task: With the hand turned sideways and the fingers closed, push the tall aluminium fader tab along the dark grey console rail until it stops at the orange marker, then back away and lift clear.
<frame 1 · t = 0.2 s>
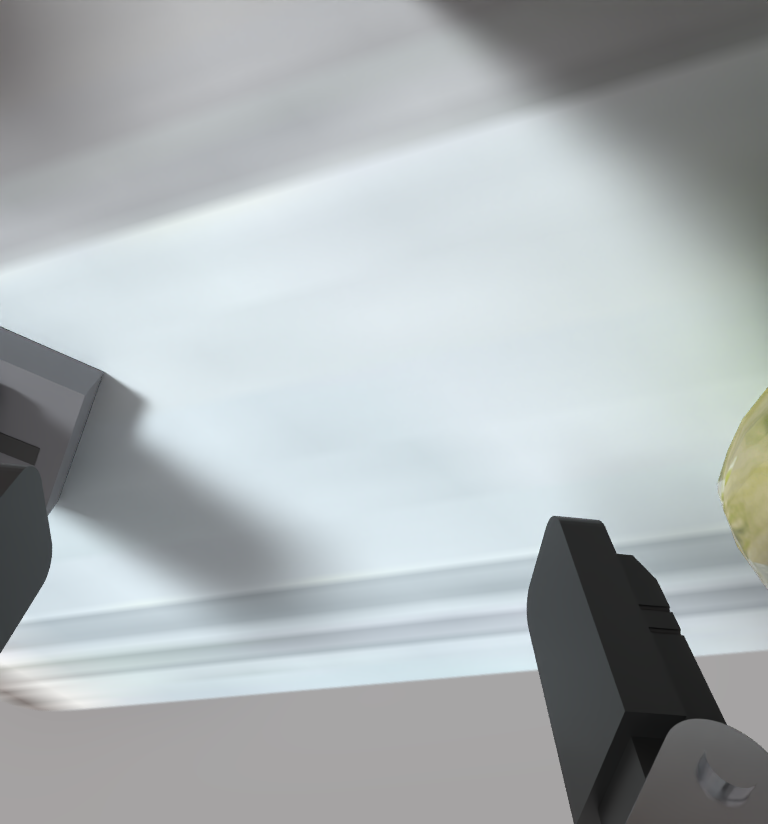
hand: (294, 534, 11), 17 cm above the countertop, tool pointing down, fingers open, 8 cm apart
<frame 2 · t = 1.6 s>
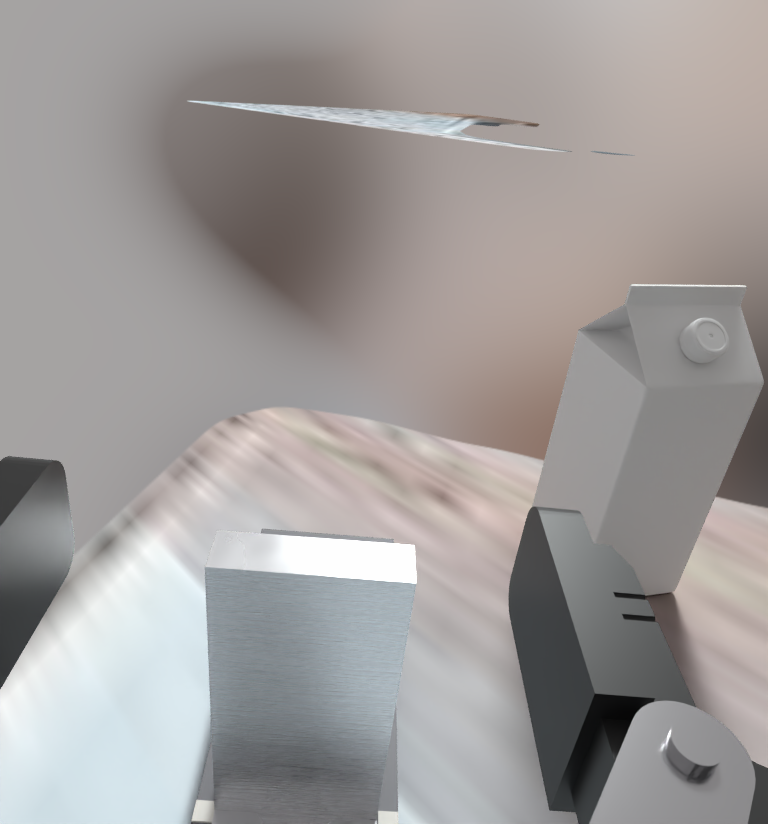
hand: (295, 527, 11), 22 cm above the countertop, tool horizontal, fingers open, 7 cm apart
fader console: (309, 715, 33), on the countertop
milk carton: (595, 563, 45), on the countertop
fader tab: (304, 701, 23), point 9 cm above the countertop, slide at 0.0 cm
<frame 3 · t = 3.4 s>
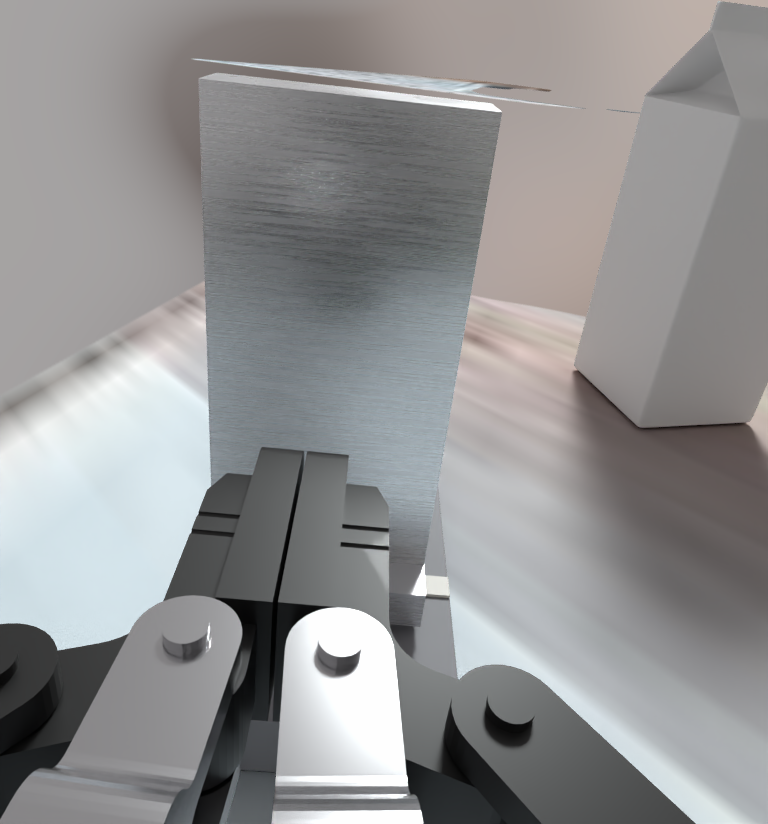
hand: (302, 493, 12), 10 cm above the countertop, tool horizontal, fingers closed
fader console: (329, 508, 27), on the countertop
milk carton: (655, 398, 39), on the countertop
fader tab: (333, 374, 17), point 9 cm above the countertop, slide at 0.0 cm
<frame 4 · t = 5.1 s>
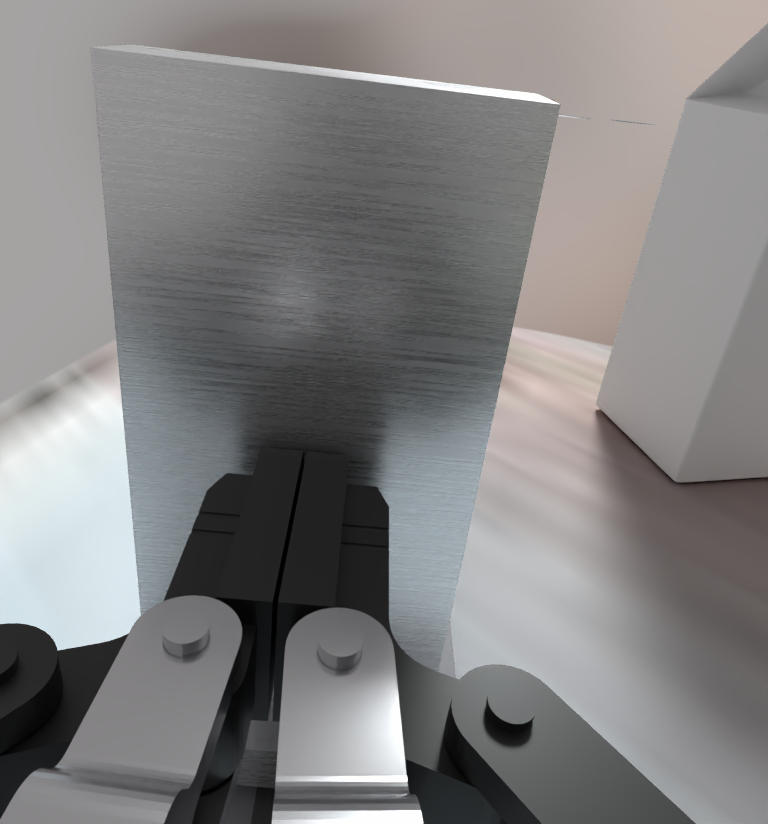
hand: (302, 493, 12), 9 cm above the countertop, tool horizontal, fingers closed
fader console: (312, 594, 22), on the countertop
milk carton: (690, 443, 34), on the countertop
fader tab: (307, 469, 13), point 9 cm above the countertop, slide at 0.0 cm, touching gripper
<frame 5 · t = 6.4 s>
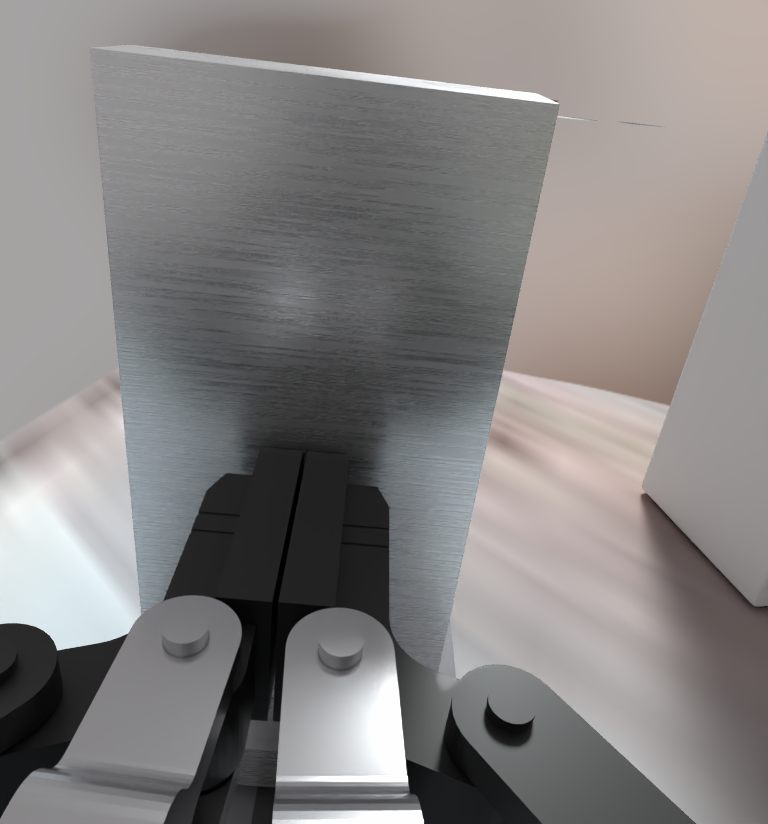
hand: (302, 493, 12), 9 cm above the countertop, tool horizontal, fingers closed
milk carton: (760, 541, 28), on the countertop
fader tab: (307, 468, 13), point 9 cm above the countertop, slide at 7.5 cm, touching gripper
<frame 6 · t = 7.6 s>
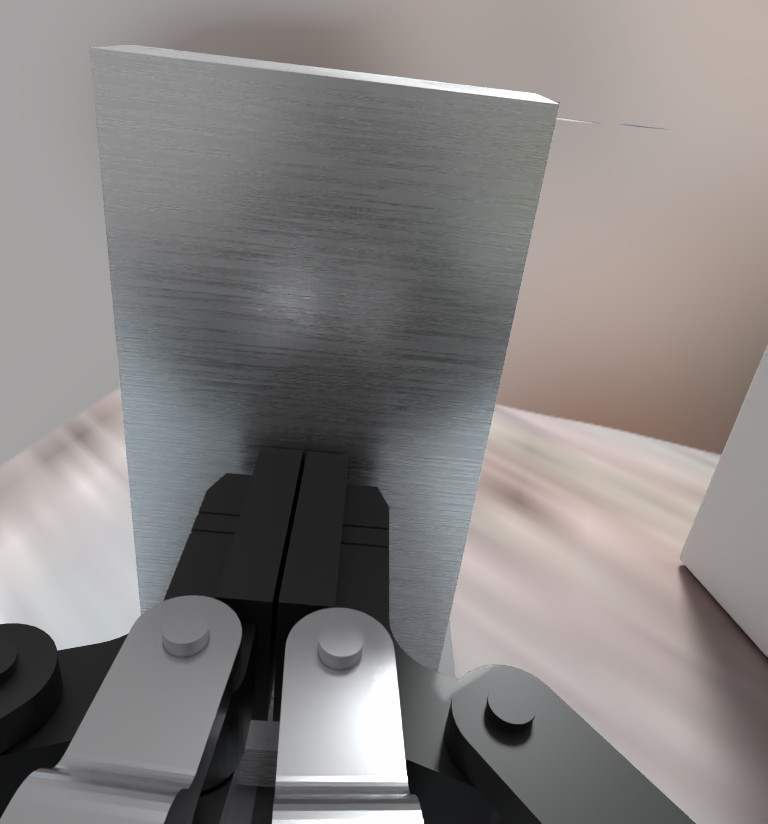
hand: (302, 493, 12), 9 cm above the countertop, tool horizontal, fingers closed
fader tab: (307, 468, 13), point 9 cm above the countertop, slide at 12.1 cm, touching gripper
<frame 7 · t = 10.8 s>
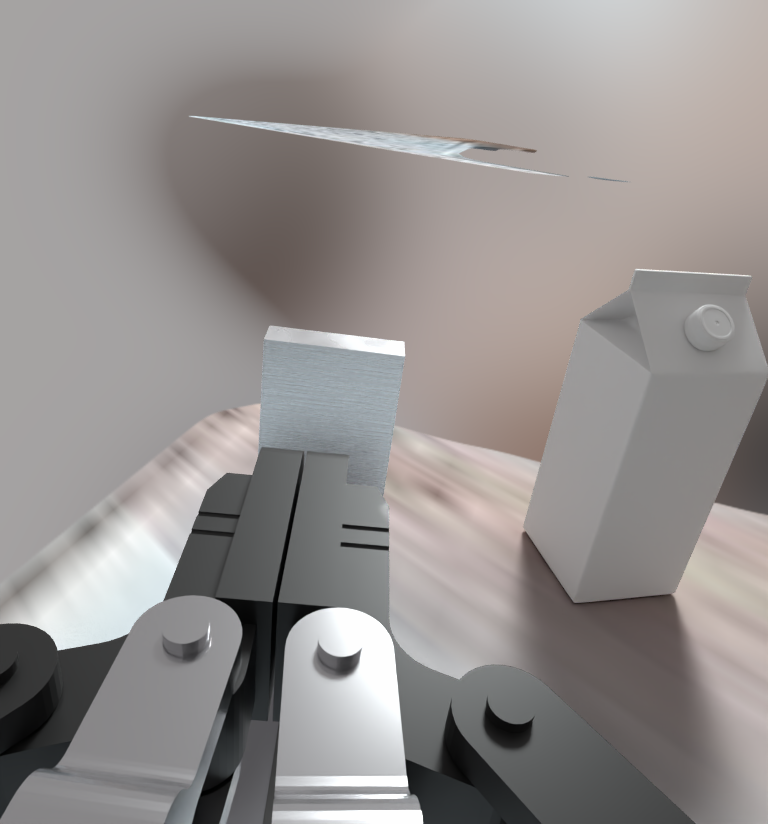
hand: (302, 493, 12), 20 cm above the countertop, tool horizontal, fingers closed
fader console: (294, 705, 31), on the countertop
milk carton: (593, 563, 44), on the countertop
fader tab: (323, 467, 33), point 9 cm above the countertop, slide at 12.3 cm
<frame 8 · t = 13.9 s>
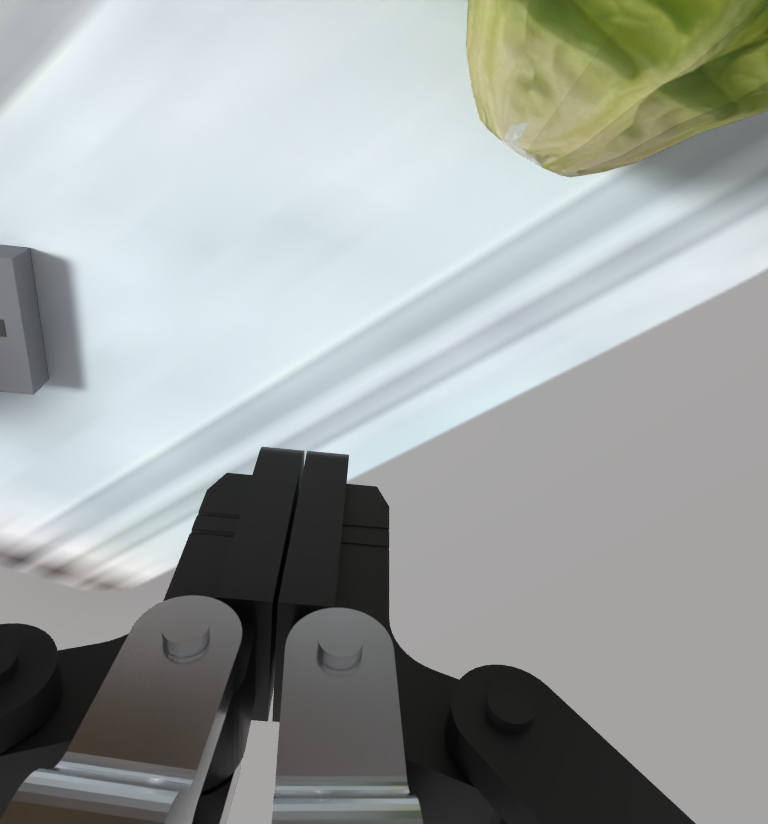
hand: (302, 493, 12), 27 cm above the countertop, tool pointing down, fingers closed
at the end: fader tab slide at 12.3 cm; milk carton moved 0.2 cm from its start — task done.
